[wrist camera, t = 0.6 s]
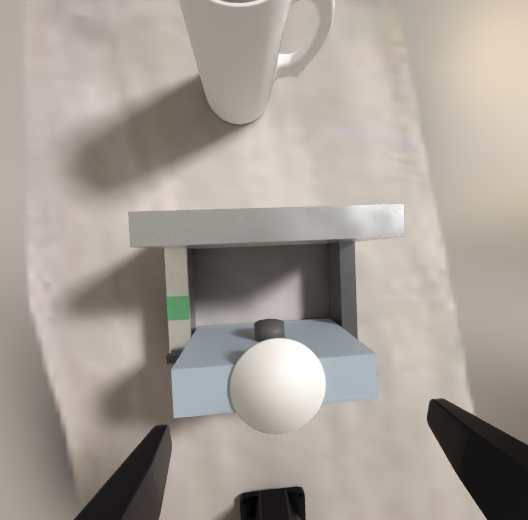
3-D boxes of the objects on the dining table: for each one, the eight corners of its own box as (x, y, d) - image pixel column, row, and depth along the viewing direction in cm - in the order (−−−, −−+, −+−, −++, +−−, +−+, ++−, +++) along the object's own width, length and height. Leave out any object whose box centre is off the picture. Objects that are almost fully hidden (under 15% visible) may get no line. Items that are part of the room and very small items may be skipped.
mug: (204, 128, 24) (166, 4, 12) (200, 57, 24) (157, -140, 12) (306, 127, 25) (365, 10, 13) (303, 58, 25) (360, -125, 13)
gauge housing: (344, 330, 26) (407, 379, 16) (179, 341, 24) (135, 402, 14) (340, 223, 25) (403, 204, 15) (173, 229, 24) (124, 211, 14)
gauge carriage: (330, 362, 25) (380, 423, 16) (180, 374, 24) (141, 447, 15) (328, 303, 25) (377, 331, 16) (177, 312, 24) (135, 348, 15)
